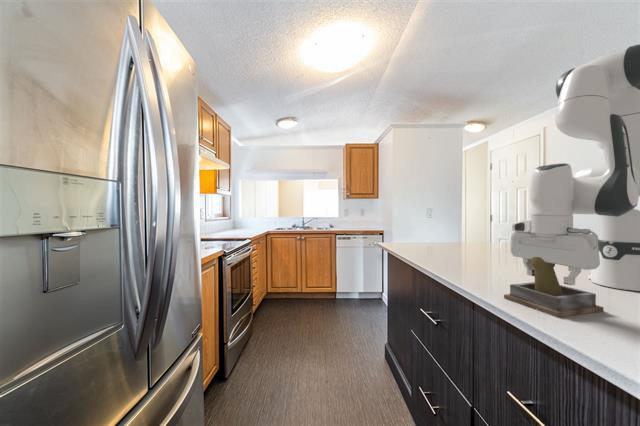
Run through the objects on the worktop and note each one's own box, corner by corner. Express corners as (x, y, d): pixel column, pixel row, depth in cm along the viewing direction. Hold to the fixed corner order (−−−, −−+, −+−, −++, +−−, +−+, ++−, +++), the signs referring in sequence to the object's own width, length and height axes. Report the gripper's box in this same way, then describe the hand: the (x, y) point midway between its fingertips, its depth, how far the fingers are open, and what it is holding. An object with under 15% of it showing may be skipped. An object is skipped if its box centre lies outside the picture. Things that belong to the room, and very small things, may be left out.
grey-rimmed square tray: (544, 293, 84) (544, 280, 84) (603, 311, 70) (603, 294, 70) (503, 298, 80) (504, 283, 80) (558, 317, 66) (558, 300, 66)
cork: (554, 295, 78) (546, 254, 79) (570, 299, 72) (561, 254, 74) (530, 297, 78) (522, 256, 80) (544, 300, 73) (536, 256, 74)
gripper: (608, 229, 65) (606, 290, 66) (523, 224, 85) (523, 270, 85) (587, 229, 64) (586, 292, 64) (506, 224, 84) (505, 272, 84)
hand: (549, 279), depth 75 cm, fingers open, 8 cm apart
